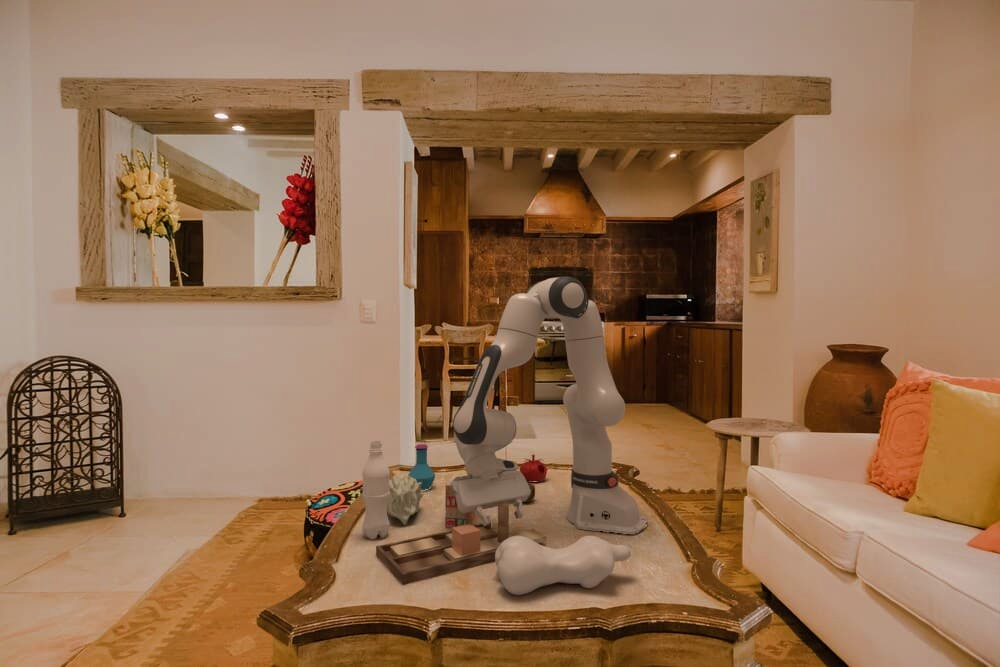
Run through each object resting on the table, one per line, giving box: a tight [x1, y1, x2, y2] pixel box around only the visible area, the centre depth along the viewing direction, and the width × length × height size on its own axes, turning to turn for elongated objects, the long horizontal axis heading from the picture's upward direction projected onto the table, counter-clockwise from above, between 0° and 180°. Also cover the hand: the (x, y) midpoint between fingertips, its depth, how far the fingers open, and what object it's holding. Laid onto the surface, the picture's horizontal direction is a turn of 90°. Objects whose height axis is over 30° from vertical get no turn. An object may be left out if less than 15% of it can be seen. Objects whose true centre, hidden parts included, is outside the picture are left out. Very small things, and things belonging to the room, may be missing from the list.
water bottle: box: [361, 440, 391, 540], centre depth 147 cm, size 7×7×25 cm
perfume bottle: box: [407, 443, 436, 490], centre depth 189 cm, size 9×9×15 cm
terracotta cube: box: [451, 523, 480, 556], centre depth 132 cm, size 5×5×5 cm
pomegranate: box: [519, 454, 548, 482], centre depth 200 cm, size 10×10×9 cm
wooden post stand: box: [444, 503, 547, 561], centre depth 137 cm, size 26×6×10 cm, turn 121°
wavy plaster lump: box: [387, 474, 424, 526], centre depth 161 cm, size 18×13×16 cm
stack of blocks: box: [444, 472, 475, 529], centre depth 163 cm, size 21×6×12 cm, turn 173°
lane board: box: [375, 523, 498, 585], centre depth 135 cm, size 32×18×2 cm, turn 121°
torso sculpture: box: [494, 535, 632, 596], centre depth 121 cm, size 16×11×30 cm
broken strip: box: [390, 526, 494, 557], centre depth 139 cm, size 26×6×1 cm, turn 121°
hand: (504, 520), depth 137 cm, fingers open, 8 cm apart
